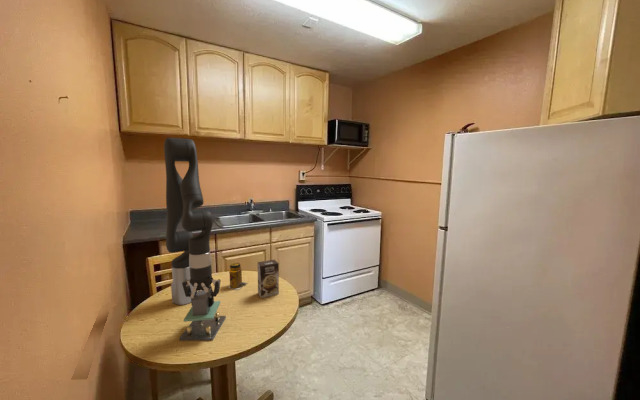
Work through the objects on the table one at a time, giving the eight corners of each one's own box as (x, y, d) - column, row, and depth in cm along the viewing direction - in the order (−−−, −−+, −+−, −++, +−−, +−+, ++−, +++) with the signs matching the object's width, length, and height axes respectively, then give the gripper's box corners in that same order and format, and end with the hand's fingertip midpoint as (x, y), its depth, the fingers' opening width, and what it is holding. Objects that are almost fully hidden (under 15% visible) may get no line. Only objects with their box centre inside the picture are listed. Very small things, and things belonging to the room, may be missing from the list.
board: (183, 321, 95) (182, 303, 94) (194, 304, 107) (193, 288, 106) (212, 319, 96) (211, 301, 95) (220, 302, 108) (219, 287, 107)
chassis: (179, 340, 95) (178, 331, 95) (196, 318, 109) (196, 310, 109) (212, 340, 96) (212, 331, 95) (225, 318, 110) (225, 310, 109)
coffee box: (261, 298, 126) (260, 266, 124) (257, 292, 131) (256, 261, 129) (279, 294, 130) (278, 263, 128) (275, 288, 136) (274, 258, 133)
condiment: (226, 287, 137) (225, 265, 135) (237, 281, 144) (236, 260, 143) (237, 290, 134) (236, 267, 132) (248, 283, 142) (247, 262, 140)
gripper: (176, 267, 95) (179, 311, 97) (215, 267, 95) (218, 311, 98) (186, 260, 103) (188, 301, 105) (223, 260, 103) (225, 301, 105)
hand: (203, 306), depth 101 cm, fingers closed on board, 5 cm apart
